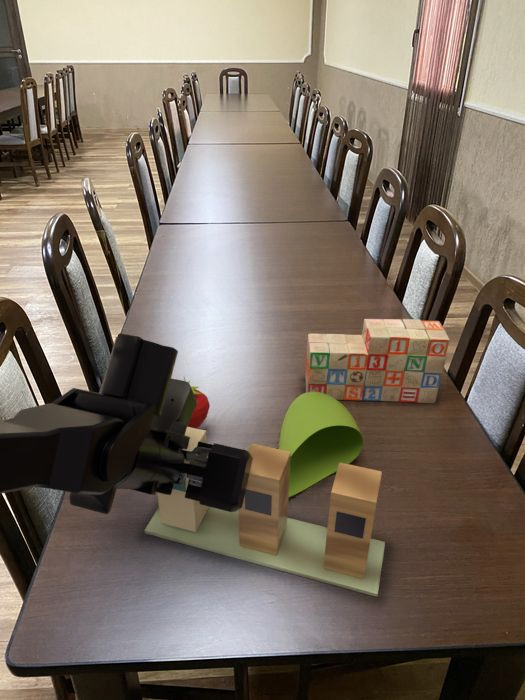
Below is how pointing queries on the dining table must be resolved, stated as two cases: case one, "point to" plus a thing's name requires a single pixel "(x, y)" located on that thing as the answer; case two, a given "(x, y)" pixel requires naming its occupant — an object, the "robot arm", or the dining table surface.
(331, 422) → the green curved shell
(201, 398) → the strawberry
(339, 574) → the block line
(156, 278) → the dining table surface
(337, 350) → the stack of blocks
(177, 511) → the tall cream block
